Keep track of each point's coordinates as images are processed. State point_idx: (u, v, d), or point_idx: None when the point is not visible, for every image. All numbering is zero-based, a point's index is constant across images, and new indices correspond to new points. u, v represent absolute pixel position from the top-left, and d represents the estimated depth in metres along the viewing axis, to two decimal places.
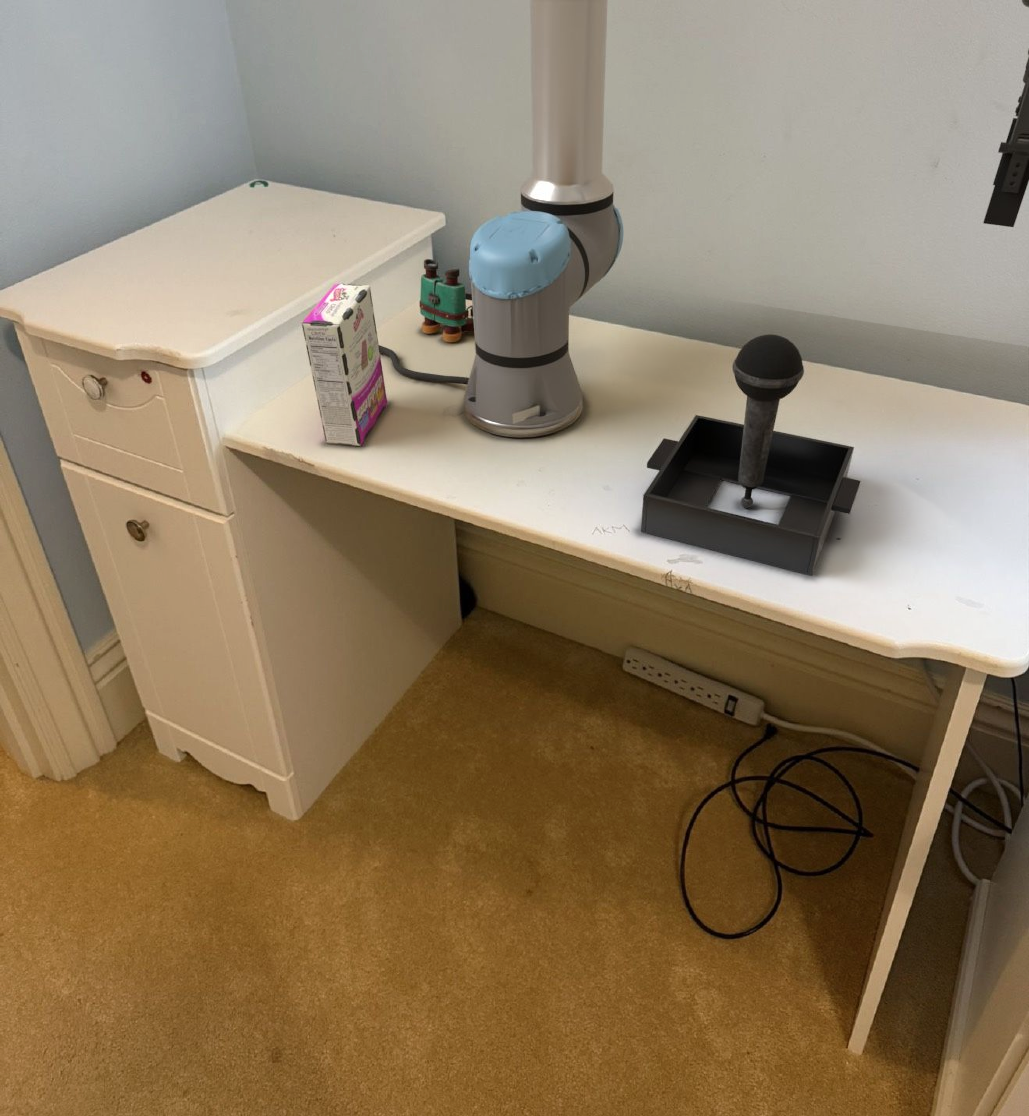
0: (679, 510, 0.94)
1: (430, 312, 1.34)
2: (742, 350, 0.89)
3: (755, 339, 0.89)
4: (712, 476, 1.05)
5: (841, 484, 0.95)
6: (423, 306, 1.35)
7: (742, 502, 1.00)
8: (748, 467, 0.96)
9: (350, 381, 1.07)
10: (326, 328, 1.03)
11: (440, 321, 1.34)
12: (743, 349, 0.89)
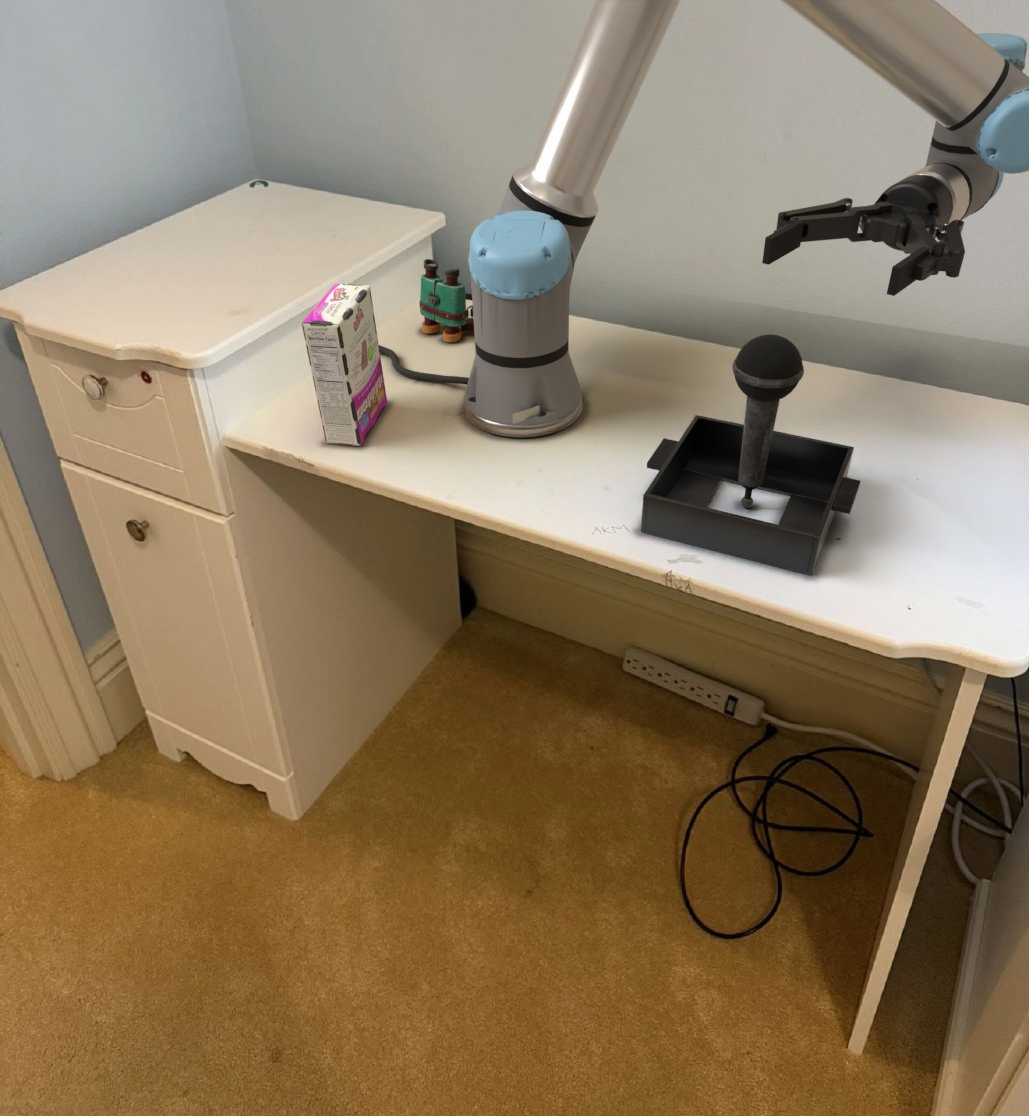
0: (679, 510, 0.94)
1: (430, 312, 1.34)
2: (742, 350, 0.89)
3: (755, 339, 0.89)
4: (712, 476, 1.05)
5: (841, 484, 0.95)
6: (423, 306, 1.35)
7: (742, 502, 1.00)
8: (748, 467, 0.96)
9: (350, 381, 1.07)
10: (326, 328, 1.03)
11: (440, 321, 1.34)
12: (743, 349, 0.89)
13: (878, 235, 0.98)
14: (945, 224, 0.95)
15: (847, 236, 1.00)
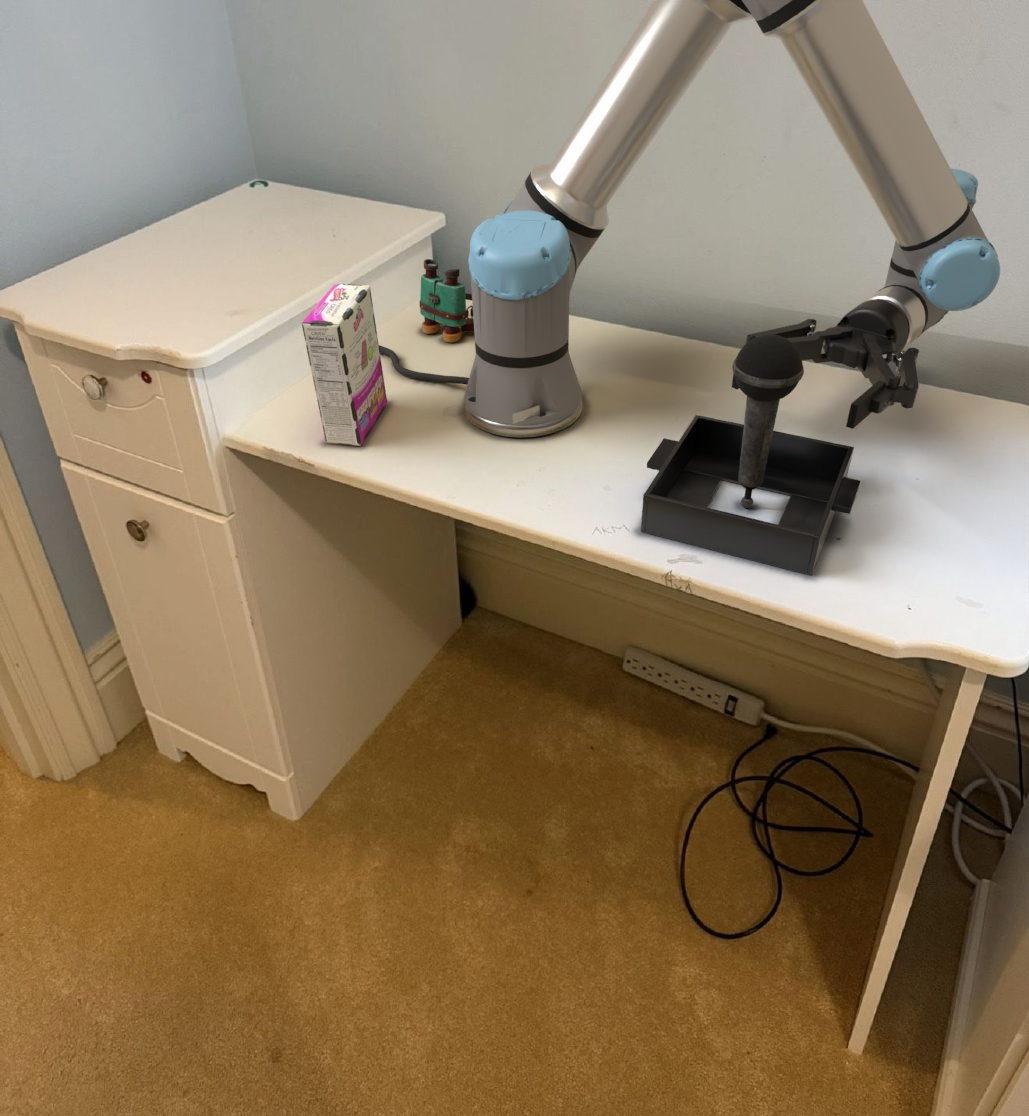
0: (679, 510, 0.94)
1: (430, 312, 1.34)
2: (742, 350, 0.89)
3: (755, 339, 0.89)
4: (712, 476, 1.05)
5: (841, 484, 0.95)
6: (423, 306, 1.35)
7: (742, 502, 1.00)
8: (748, 467, 0.96)
9: (350, 381, 1.07)
10: (326, 328, 1.03)
11: (440, 321, 1.34)
12: (743, 349, 0.89)
13: (839, 359, 1.05)
14: (901, 352, 1.02)
15: (811, 358, 1.06)
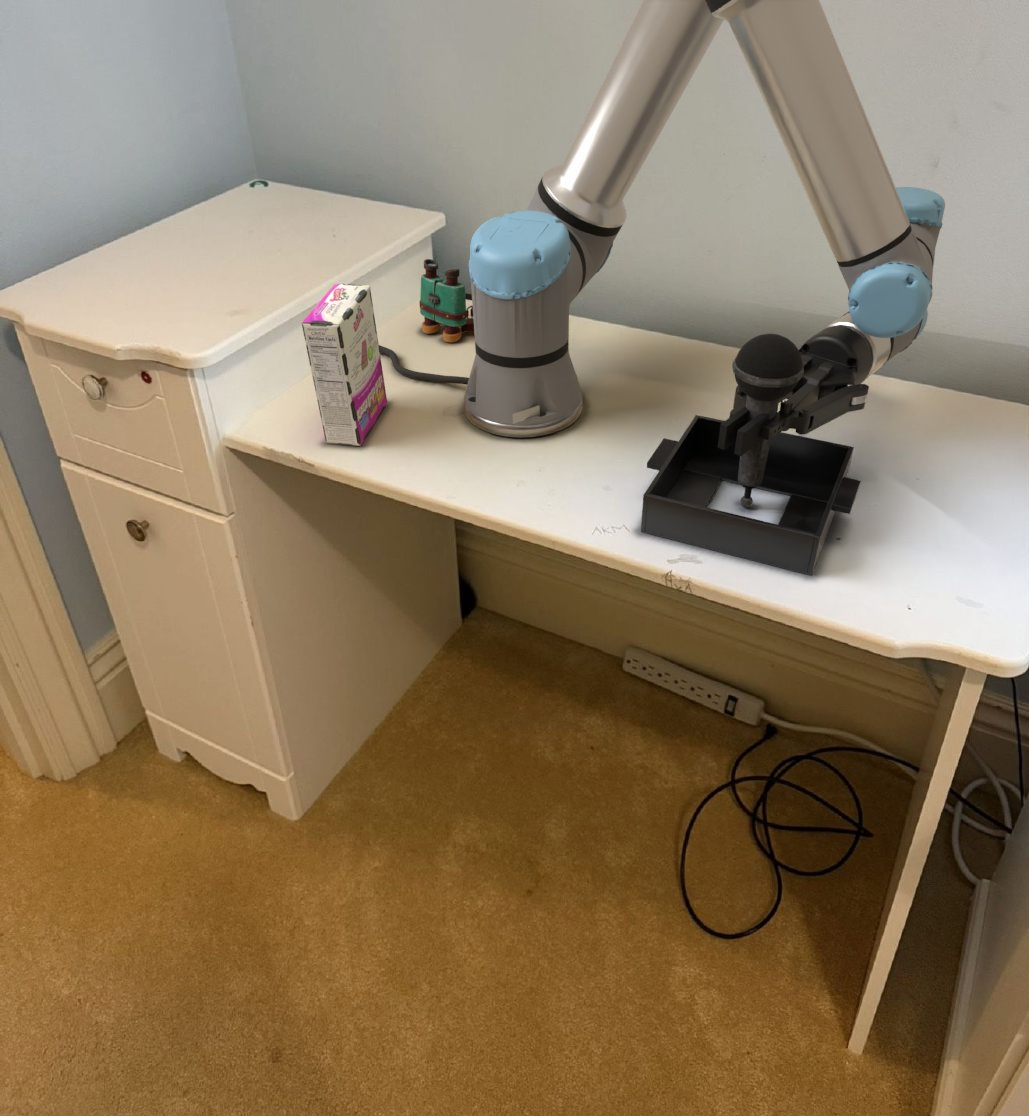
0: (679, 510, 0.94)
1: (430, 312, 1.34)
2: (742, 349, 0.89)
3: (755, 338, 0.89)
4: (712, 476, 1.05)
5: (841, 484, 0.95)
6: (423, 306, 1.35)
7: (742, 501, 1.00)
8: (748, 467, 0.96)
9: (350, 381, 1.07)
10: (326, 328, 1.03)
11: (440, 321, 1.34)
12: (743, 348, 0.89)
13: (798, 389, 0.99)
14: (848, 384, 0.96)
15: (786, 396, 0.99)
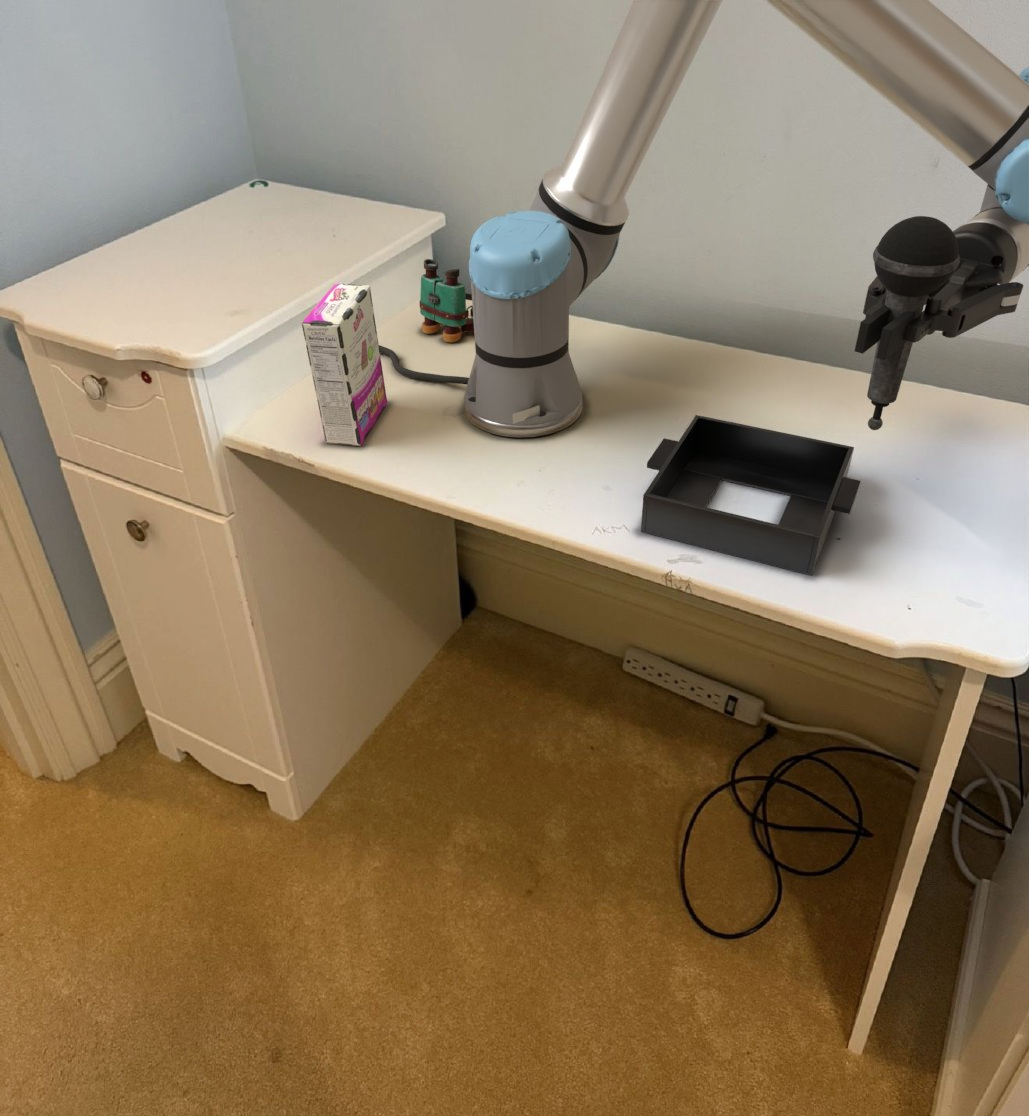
0: (679, 510, 0.94)
1: (430, 312, 1.34)
2: (887, 234, 0.77)
3: (903, 221, 0.76)
4: (712, 476, 1.05)
5: (841, 484, 0.95)
6: (423, 306, 1.35)
7: (870, 423, 0.87)
8: (882, 379, 0.83)
9: (350, 381, 1.07)
10: (326, 328, 1.03)
11: (440, 321, 1.34)
12: (888, 233, 0.76)
13: (935, 292, 0.86)
14: (998, 283, 0.83)
15: None
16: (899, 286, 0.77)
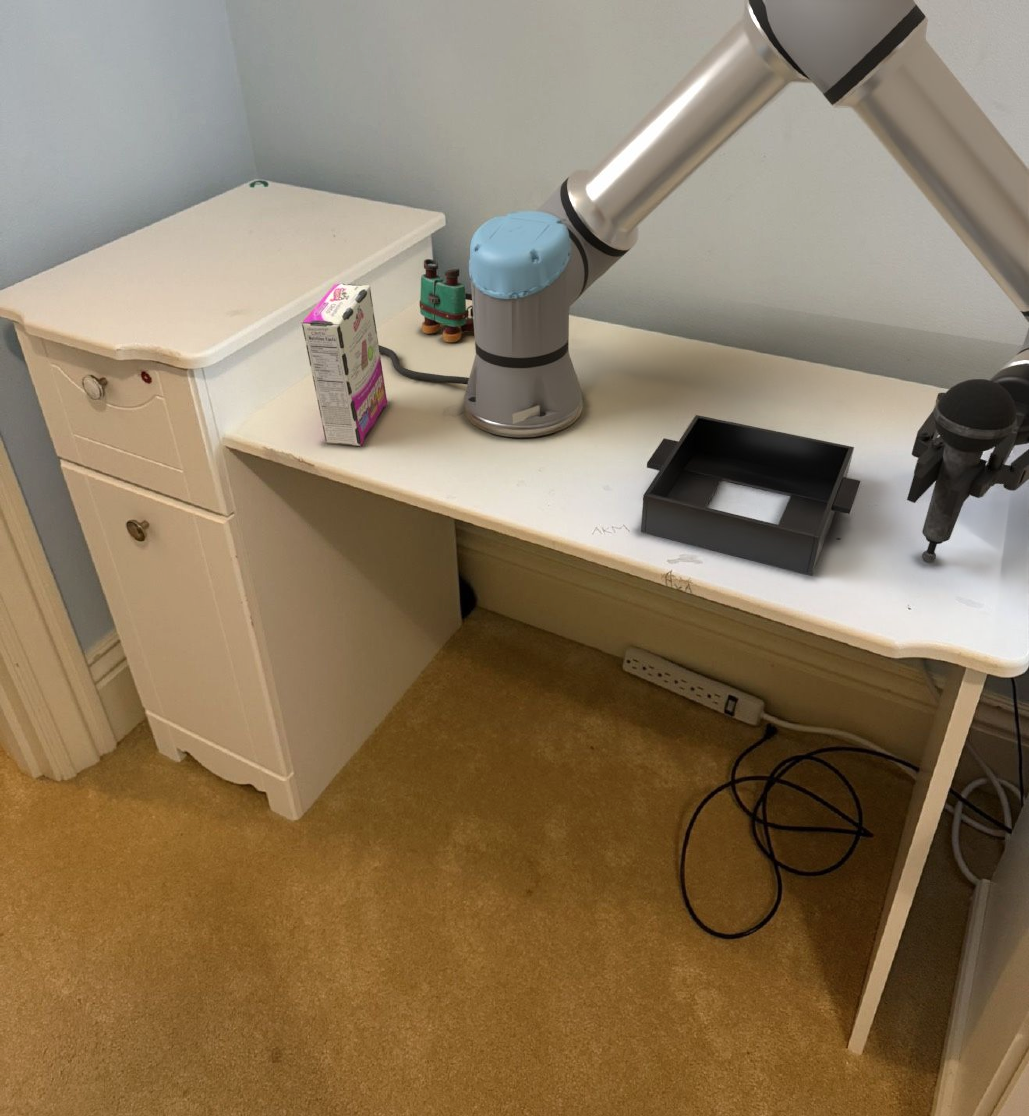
0: (679, 510, 0.94)
1: (430, 312, 1.34)
2: (948, 395, 0.81)
3: (964, 384, 0.81)
4: (712, 476, 1.05)
5: (841, 484, 0.95)
6: (423, 306, 1.35)
7: (924, 556, 0.92)
8: (938, 521, 0.88)
9: (350, 381, 1.07)
10: (327, 328, 1.03)
11: (440, 321, 1.34)
12: (949, 394, 0.81)
13: None
14: None
15: None
16: (959, 444, 0.81)
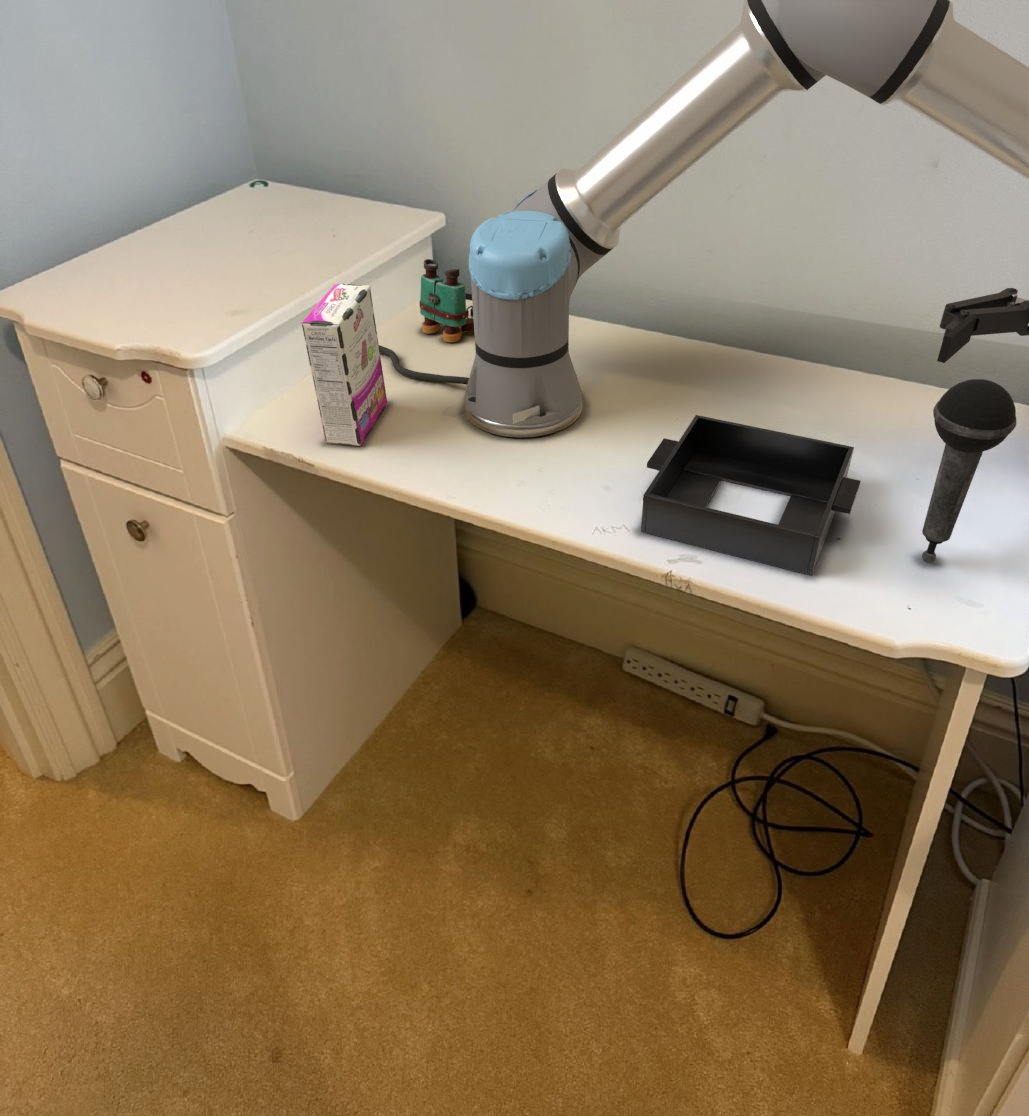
0: (679, 510, 0.94)
1: (430, 312, 1.34)
2: (947, 395, 0.81)
3: (963, 384, 0.81)
4: (712, 476, 1.05)
5: (841, 484, 0.95)
6: (423, 306, 1.35)
7: (924, 556, 0.92)
8: (938, 521, 0.88)
9: (350, 381, 1.07)
10: (326, 328, 1.03)
11: (440, 321, 1.34)
12: (949, 394, 0.81)
13: None
14: None
15: (1016, 330, 0.96)
16: (959, 445, 0.81)
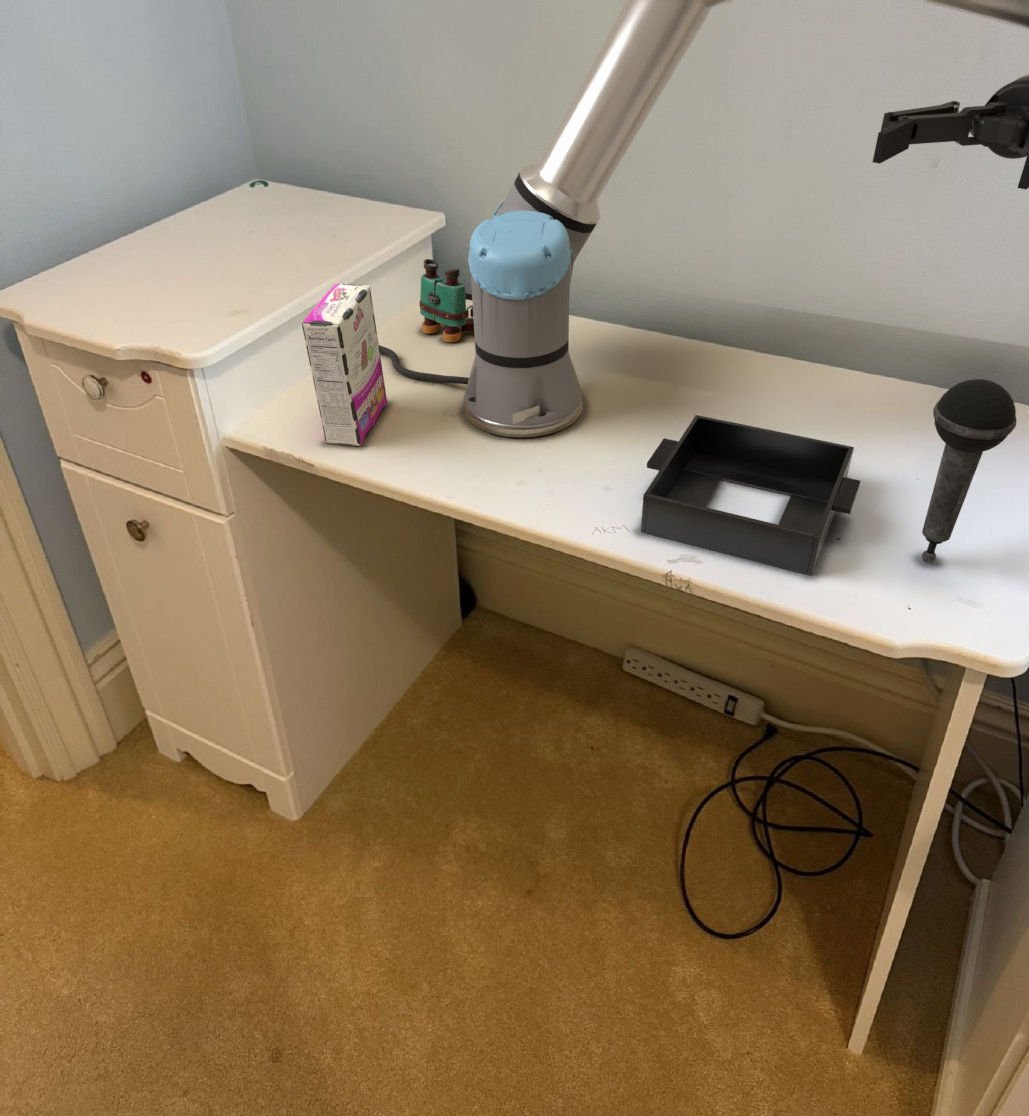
0: (679, 510, 0.94)
1: (430, 312, 1.34)
2: (947, 395, 0.81)
3: (963, 384, 0.81)
4: (712, 476, 1.05)
5: (841, 484, 0.95)
6: (423, 306, 1.35)
7: (924, 556, 0.92)
8: (938, 521, 0.88)
9: (350, 381, 1.07)
10: (326, 328, 1.03)
11: (440, 321, 1.34)
12: (949, 394, 0.81)
13: (992, 136, 0.92)
14: None
15: (957, 139, 0.93)
16: (959, 445, 0.81)
